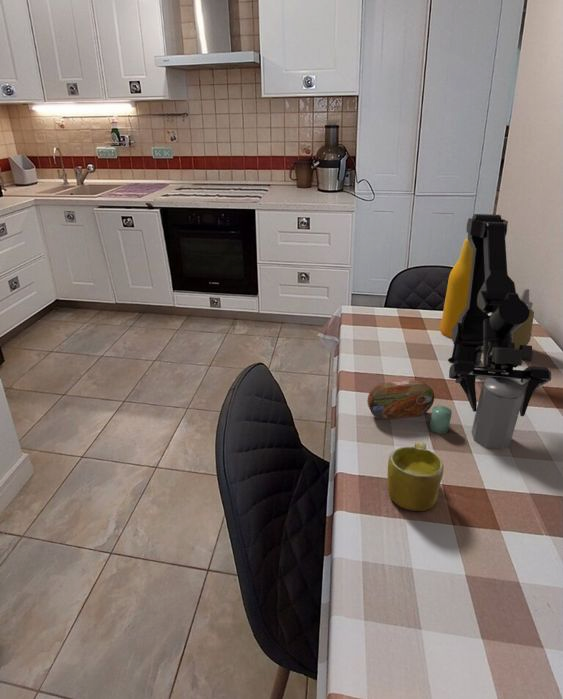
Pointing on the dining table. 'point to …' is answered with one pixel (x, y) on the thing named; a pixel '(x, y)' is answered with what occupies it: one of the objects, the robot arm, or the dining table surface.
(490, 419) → the grey domed canister
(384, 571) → the dining table surface
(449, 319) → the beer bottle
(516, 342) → the squeeze bottle
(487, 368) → the robot arm
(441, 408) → the pale green rounded part
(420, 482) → the mug
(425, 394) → the tin
